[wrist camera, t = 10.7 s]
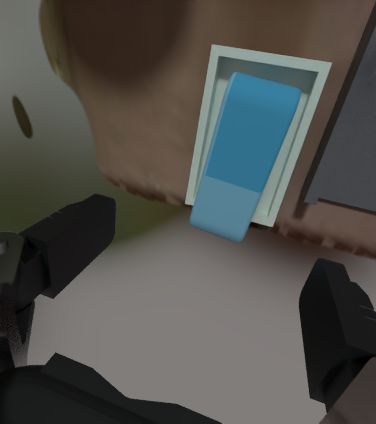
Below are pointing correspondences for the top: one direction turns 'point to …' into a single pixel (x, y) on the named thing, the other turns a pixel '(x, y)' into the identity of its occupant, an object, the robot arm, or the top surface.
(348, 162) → the bay
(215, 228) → the blue flat block
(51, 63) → the top surface
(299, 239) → the top surface
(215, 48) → the tray
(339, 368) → the robot arm
